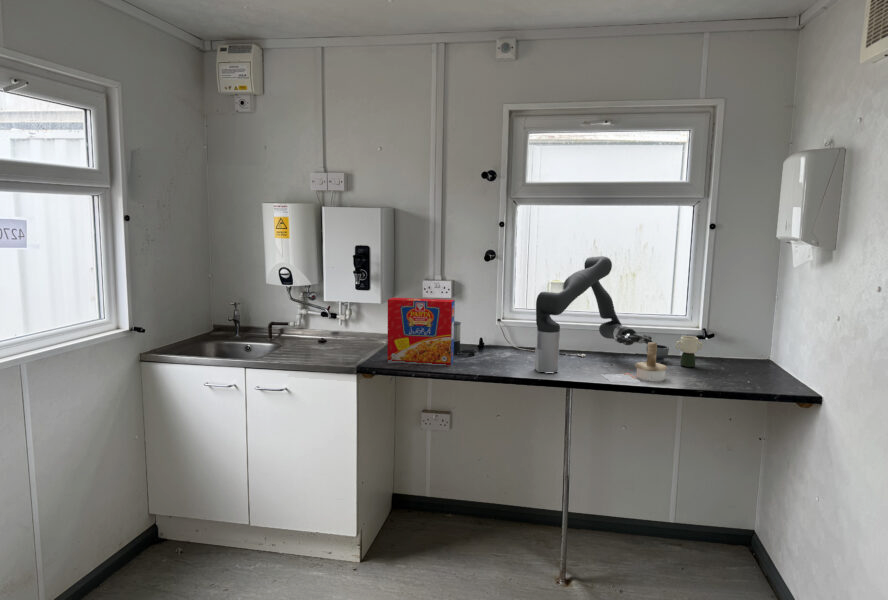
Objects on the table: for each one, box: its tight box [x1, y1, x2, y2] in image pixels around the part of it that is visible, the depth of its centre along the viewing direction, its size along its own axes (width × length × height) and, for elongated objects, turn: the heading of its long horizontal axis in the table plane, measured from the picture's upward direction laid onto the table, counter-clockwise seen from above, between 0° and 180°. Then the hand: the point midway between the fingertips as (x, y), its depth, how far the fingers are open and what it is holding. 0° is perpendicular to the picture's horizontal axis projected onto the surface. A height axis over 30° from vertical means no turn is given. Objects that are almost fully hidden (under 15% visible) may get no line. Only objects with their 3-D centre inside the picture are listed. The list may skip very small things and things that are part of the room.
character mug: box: [675, 335, 703, 368], centre depth 247 cm, size 11×7×13 cm, turn 80°
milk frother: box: [454, 320, 478, 355], centre depth 265 cm, size 14×16×15 cm
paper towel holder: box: [634, 341, 668, 372], centre depth 225 cm, size 12×12×10 cm
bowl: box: [636, 368, 666, 382], centre depth 226 cm, size 10×10×4 cm
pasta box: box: [387, 297, 456, 366], centre depth 246 cm, size 28×8×28 cm, turn 80°
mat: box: [622, 372, 638, 379], centre depth 225 cm, size 13×14×1 cm
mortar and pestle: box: [646, 334, 670, 364], centre depth 256 cm, size 11×9×12 cm
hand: (640, 342), depth 235 cm, fingers open, 8 cm apart
